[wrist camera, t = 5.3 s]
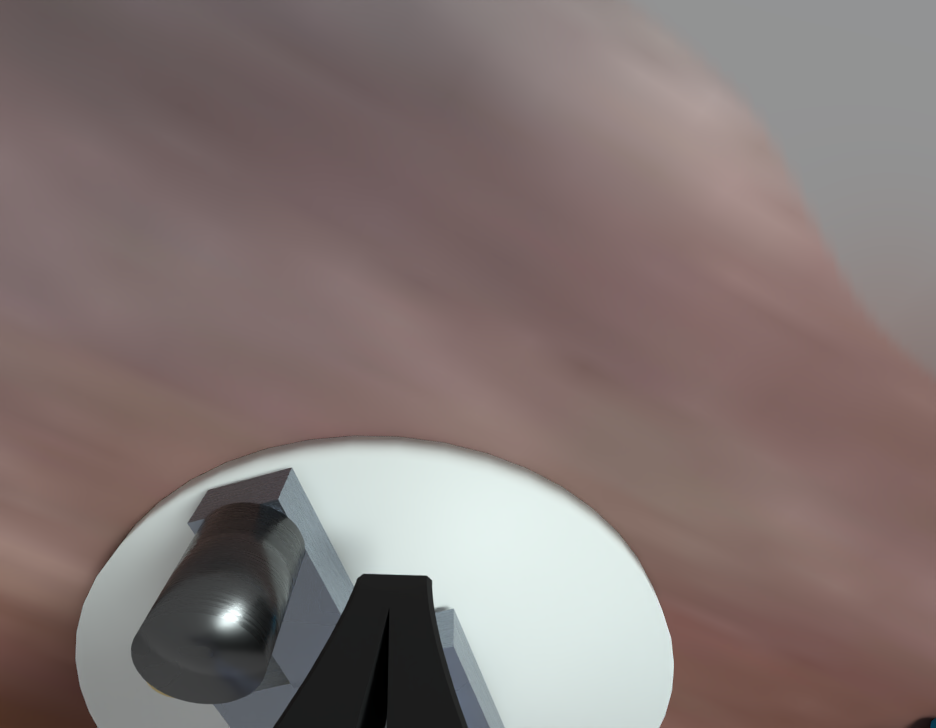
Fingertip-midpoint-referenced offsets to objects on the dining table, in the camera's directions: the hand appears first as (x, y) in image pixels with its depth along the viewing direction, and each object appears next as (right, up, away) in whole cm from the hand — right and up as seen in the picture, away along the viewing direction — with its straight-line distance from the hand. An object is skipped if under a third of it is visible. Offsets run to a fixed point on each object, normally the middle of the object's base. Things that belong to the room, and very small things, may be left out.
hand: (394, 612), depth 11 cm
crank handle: (-2, -3, +5) cm, 6 cm away
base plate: (-1, -5, +8) cm, 9 cm away
